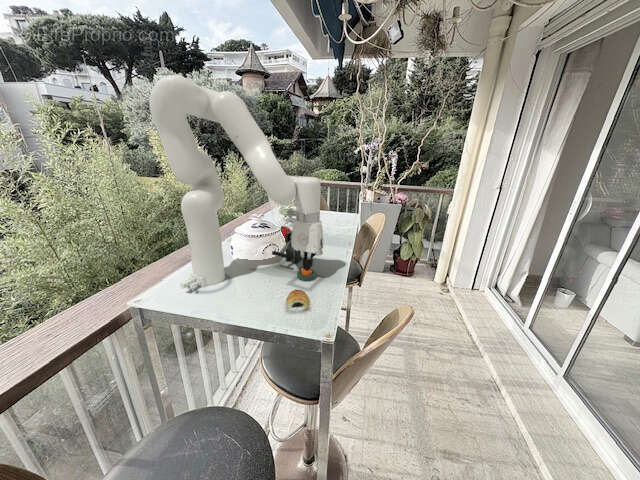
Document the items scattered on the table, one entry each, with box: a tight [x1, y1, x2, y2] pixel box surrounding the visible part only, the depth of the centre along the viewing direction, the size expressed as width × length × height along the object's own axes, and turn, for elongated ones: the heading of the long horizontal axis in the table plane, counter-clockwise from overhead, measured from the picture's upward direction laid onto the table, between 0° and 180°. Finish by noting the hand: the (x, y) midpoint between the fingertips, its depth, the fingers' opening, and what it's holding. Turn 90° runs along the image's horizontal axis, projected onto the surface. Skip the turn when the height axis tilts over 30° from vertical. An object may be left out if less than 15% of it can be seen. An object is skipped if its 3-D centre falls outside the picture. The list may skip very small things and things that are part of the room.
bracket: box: [285, 230, 303, 265], centre depth 103 cm, size 12×9×13 cm
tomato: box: [280, 225, 292, 242], centre depth 126 cm, size 9×9×8 cm
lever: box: [271, 235, 292, 259], centre depth 98 cm, size 12×6×2 cm, turn 152°
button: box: [301, 267, 313, 276], centre depth 92 cm, size 4×4×2 cm
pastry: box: [286, 288, 310, 311], centre depth 79 cm, size 9×7×4 cm
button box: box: [296, 268, 317, 283], centre depth 92 cm, size 10×8×3 cm
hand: (307, 267), depth 91 cm, fingers closed
